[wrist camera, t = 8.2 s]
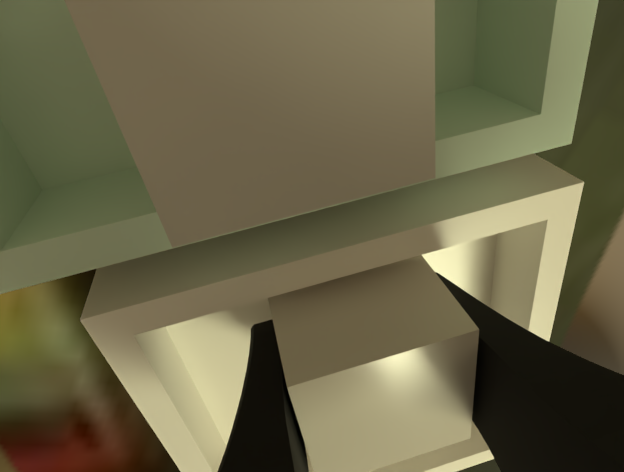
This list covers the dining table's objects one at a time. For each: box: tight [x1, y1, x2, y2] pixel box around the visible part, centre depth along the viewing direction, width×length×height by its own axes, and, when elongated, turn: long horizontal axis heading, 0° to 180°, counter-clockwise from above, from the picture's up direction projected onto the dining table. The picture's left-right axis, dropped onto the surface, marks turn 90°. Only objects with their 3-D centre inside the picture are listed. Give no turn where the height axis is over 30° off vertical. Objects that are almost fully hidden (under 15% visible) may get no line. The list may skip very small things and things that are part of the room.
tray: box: [80, 154, 584, 472], centre depth 14 cm, size 12×12×2 cm
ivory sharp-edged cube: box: [268, 255, 479, 472], centre depth 11 cm, size 4×4×4 cm
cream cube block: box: [64, 0, 435, 248], centre depth 7 cm, size 4×4×4 cm
